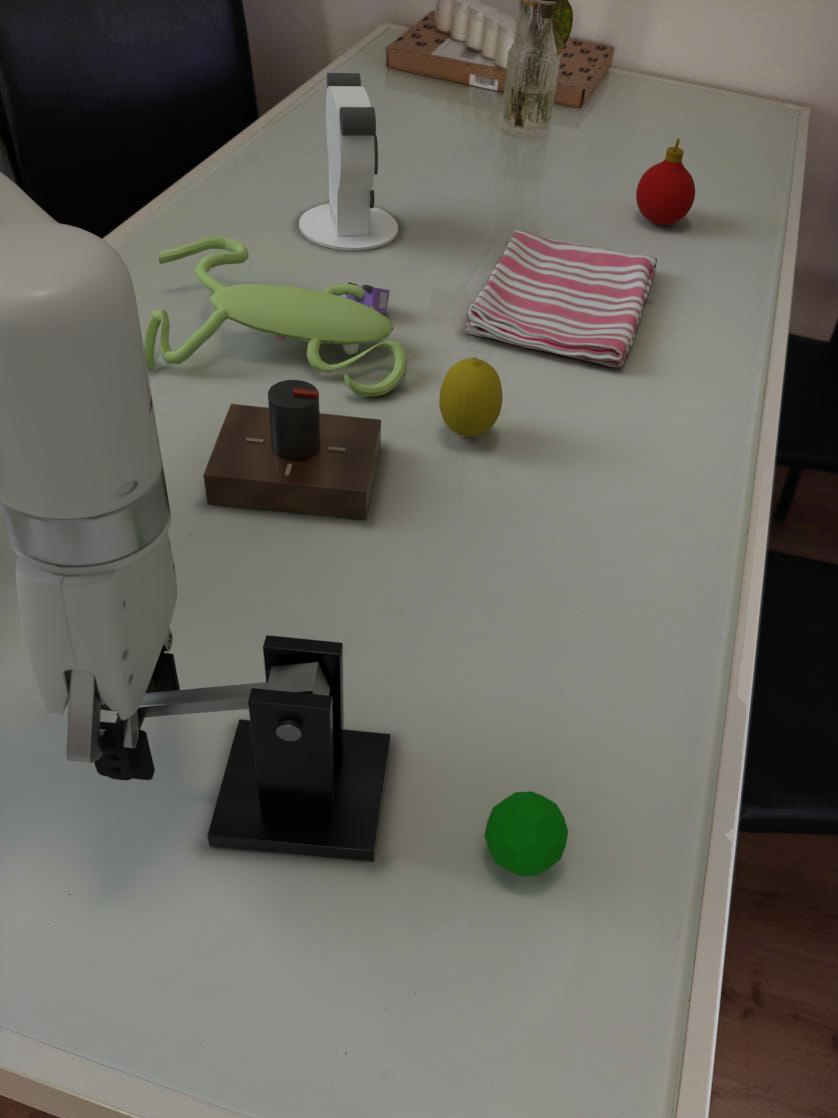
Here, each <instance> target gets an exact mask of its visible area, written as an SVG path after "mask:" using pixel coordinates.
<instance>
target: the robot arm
mask: <svg viewBox="0 0 838 1118" xmlns="http://www.w3.org/2000/svg"><path fill="white" fill-rule="evenodd" d="M134 287H135V286H134V283H133V279H132V275H131V273H130V270H129V268H128V266H127V264H126V263H125V261H124V259H123V258H122V256H121V254H120V253H119V252H118V251H117V250H116V249H115V248H114V247H113V246H112V245H111V244H110V243H108V242H107V241H106V240H105V239H103V238H101V237H100V236H98V235H96V234H94V233H92V232H91V231H90V232H89V231H87V230H85V229H83V228H80V227H77V226H73V225H69V224H64V223H60V222H58V221H57V220H55V219H54V218H53V217H52V216H51V215H50V214H49V213H47V212H46V211H45V210H44V209H43V208H42V207H41V206H40V205H39V204H38V203H36V202H35V201H34V199H32V198H31V197H30V196H29V195H28V194H27V193H26V192H25V191H24V190H23V189H22V188H21V187H19V185H17V184H16V183H15V182H14V181H13V180H12V179H10V178H9V177H8V176H7V175H5V174H4V173H3V172H1V171H0V517H1V520H2V524H3V527H4V530H5V535H6V537H7V540H8V543H9V545H10V547H11V549H12V550H13V552H14V554H16V555H17V560H16V564H15V568H14V569H15V584H16V597H17V605H18V612H19V618H20V619H19V620H20V624H21V631H22V635H23V640H24V645H25V648H26V653H27V658H28V662H29V665H30V670H31V673H32V677H33V680H34V684H35V688H36V691H37V694H38V697H39V700H40V702H41V705H42V707H43V709H44V710H45V711H46V712H47V713H48V714H50V715H58V716H63V714H64V712H65V710H66V708H67V705H68V713H67V714H68V716H67V732H66V749H65V750H66V751H65V758H66V761H68V762H76V763H86V764H94V766H95V770H96V772H97V774H98V775H99V776H102V777H107V778H110V779H111V780H116V781H130V780H141V781H151V780H153V778H154V775H155V773H156V767H155V765H154V764H155V763H154V760H153V754H152V751H151V747H150V741H149V738H148V733H147V731H144V730H143V729H140V730H139V726H138V712H137V710H138V708H139V707H140V705H141V702H142V700H143V698H144V695H145V692H146V690H147V687H148V685H149V682H150V679H151V677H152V674H153V671H154V670H155V671H156V672H157V674H158V676H159V678H158V681H157V684H156V687H155V690H154V692H163V691H174V690H181V688H180V682H179V677H178V671H177V666H176V659H175V655H174V653H171V649H172V647H173V640H174V639H173V631H172V630H171V624H172V621H173V617H174V615H175V610H176V606H177V601H178V580H177V572H176V565H175V560H174V554H173V549H172V544H171V540H170V535H169V529H170V527H171V524H172V523H171V522H172V513H171V507H170V500H169V493H168V488H167V481H166V474H165V469H164V463H163V462H164V461H163V456H162V450H161V443H160V438H159V432H158V427H157V426H158V424H157V419H156V413H155V407H154V401H153V395H152V389H151V388H152V387H151V383H150V377H149V370H148V369H147V363H146V357H145V344H144V339H143V333H142V327H141V321H140V315H139V309H138V302H137V296H136V291H135V288H134ZM169 652H170V653H169ZM102 711H108V712H109V711H110V712H116V717H117V716H119V717H120V719H121V723H115V722H113V721H103V720H101V715H102Z"/></svg>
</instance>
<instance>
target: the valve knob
mask: <svg viewBox="0 0 838 1118" xmlns="http://www.w3.org/2000/svg"><path fill="white" fill-rule="evenodd" d="M267 403H268V408H269V419H270V433H271V447H272V449H273V451H274V452H275V453H276V454H277V455H279V456H280V457H283V458H286V459H291V460H301V459H306V458H309V457H311V456H313V455H315V454H316V453H317V452H318V451H319V449H320V413H321V412H320V392H319V390H318V388H317V387H316V386H315V385H314V384H312V383H311V382H308V381H305V380H301V379H285V380H280V381H278V382H276V383H274V384H273V385H271V386H270V388H269V389H268V391H267Z"/></svg>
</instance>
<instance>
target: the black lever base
mask: <svg viewBox="0 0 838 1118" xmlns="http://www.w3.org/2000/svg"><path fill="white" fill-rule="evenodd" d="M262 653H263V664H264V674H265V682H268V679H269V675H270V671H271V668H272V666H279V665H289V664H300V663H311V662H318V663H319V665H320V667H321V669H322V672H323V674H324V676H325V678H326V681H327V683H328V685H329V687H330V692H329V696H328V695H318V694H308V693H298V692H287V691H277V690H267V689H257V688H252V689H251V692H250V696H249V699H248V706H249V709H248V713H249V719H243V718H242V719H241V718H240V719H238V722H237V725H236V728H235V729H236V730H235V733H234V737H233V740H232V744H231V748H230V751H229V755H228V758H227V762H226V766H225V769H224V773H223V777H222V780H221V783H220V787H219V791H218V794H217V798H216V803H215V806H214V810H213V813H212V817H211V821H210V825H209V828H208V832H207V835H206V836H207V843H208V847H211V848H223V849H231V850H232V849H233V850H241V851H242V850H243V851H255V852H264V853H275V854H287V855H296V856H308V857H316V858H317V857H319V858H329V859H339V860H350V861H361V862H370V863H372V862H374V861H375V856H376V848H377V842H378V835H379V827H380V822H381V821H380V820H381V815H382V813H381V812H382V806H383V799H384V792H385V787H386V786H385V785H386V777H387V771H388V763H389V757H390V749H391V738H392V737H391V736H392V735H391V733H385V732H377V731H376V732H375V731H365V730H353V729H345V727H344V726H345V725H344V723H345V722H344V721H345V720H344V719H345V718H344V716H345V715H344V644H343V642H340V641H331V640H330V641H329V640H321V639H320V640H319V639H311V638H308V639H307V638H302V637H301V638H300V637H291V636H290V637H289V636H282V635H281V636H280V635H270V634H267V635H265V638H264V640H263V645H262Z"/></svg>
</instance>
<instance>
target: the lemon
mask: <svg viewBox="0 0 838 1118" xmlns="http://www.w3.org/2000/svg"><path fill="white" fill-rule="evenodd" d="M502 387H503V385H502V382H501V378H500V375H499V374H498V372H497V371H496V368H494V367H493V365H491V364H490V363H488V362H487V361H485V360H483V359H480V358H478V357H469V358H464V359H461V360H459V361H457V362H456V363H454V364H453V365H452V366H451V367H449V369H448V370H447V372H446V373H445V375H444V377H443V380H442V383H441V386H440V390H439V400H438V402H439V403H438V404H439V411H440V415H441V417H442V420H443V422H444V424H445V425H446V426H447V427H448V428H449V429H450V430H451V431H452V432H454V433H455V434H457V435H459V436H463V437H464V438H465V439H466V438H467V439H468V438H473V437H479V436H481V435H484V434H485V433H487V432H488V431H490V430H491V429H492V428H493V426H495V424H496V422H497V421H498V420H499V418H500V413H501V410H502V406H503V398H504V397H503V396H504V395H503V388H502Z"/></svg>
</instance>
